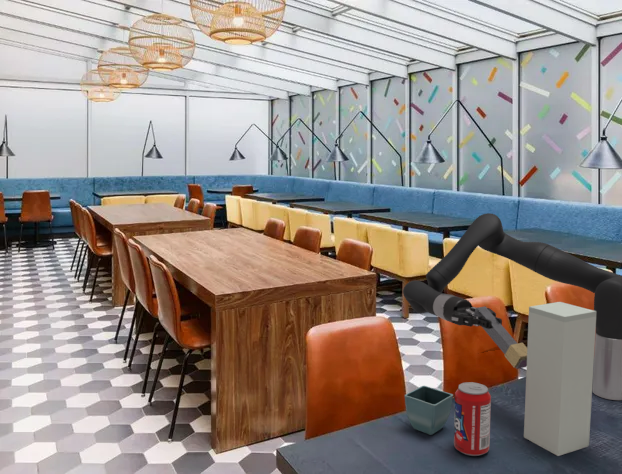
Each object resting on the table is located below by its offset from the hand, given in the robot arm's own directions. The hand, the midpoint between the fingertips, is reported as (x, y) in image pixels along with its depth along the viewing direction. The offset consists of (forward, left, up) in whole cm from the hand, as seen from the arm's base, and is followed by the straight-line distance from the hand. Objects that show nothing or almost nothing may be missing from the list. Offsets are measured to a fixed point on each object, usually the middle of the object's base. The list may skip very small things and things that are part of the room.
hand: (495, 324), depth 152 cm
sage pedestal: (+5, +20, -23) cm, 31 cm away
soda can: (+23, +9, -23) cm, 34 cm away
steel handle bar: (0, +1, -4) cm, 4 cm away
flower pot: (+22, -4, -23) cm, 33 cm away
